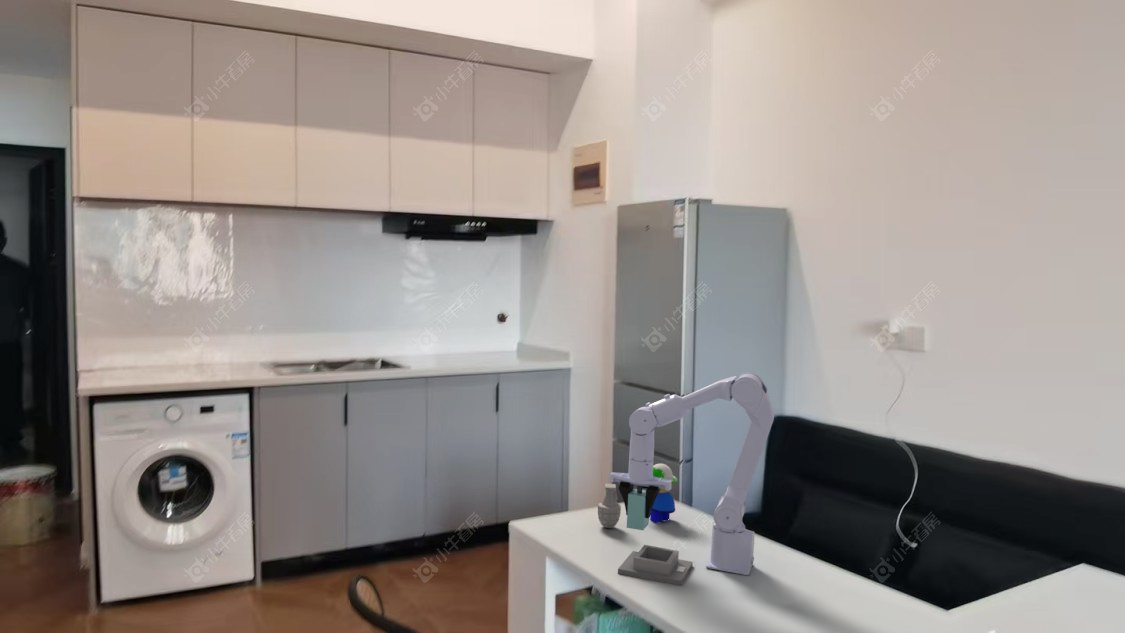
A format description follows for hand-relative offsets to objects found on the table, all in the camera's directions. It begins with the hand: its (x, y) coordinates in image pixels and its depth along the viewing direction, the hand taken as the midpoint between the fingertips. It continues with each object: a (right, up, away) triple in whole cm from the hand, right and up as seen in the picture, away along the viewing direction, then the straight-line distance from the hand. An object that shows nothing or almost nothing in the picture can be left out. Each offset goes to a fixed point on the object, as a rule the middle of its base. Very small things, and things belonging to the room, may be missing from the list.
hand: (638, 515), depth 182 cm
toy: (+8, -8, +25) cm, 27 cm away
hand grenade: (-6, -7, +17) cm, 19 cm away
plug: (0, -2, 0) cm, 2 cm away
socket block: (+3, -9, -10) cm, 14 cm away
